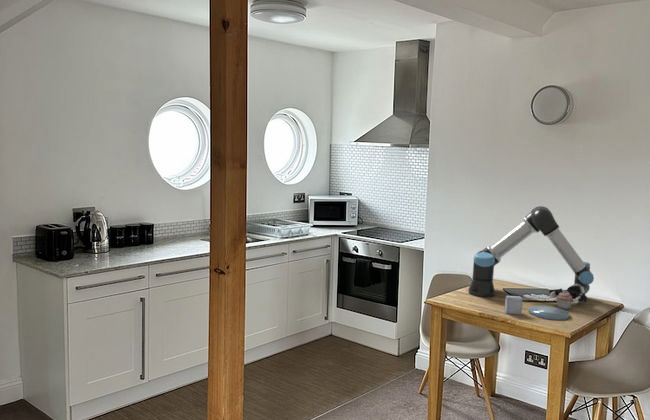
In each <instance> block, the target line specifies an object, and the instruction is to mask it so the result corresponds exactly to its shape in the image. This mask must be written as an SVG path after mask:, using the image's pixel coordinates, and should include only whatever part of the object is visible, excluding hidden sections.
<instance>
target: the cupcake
mask: <svg viewBox="0 0 650 420" xmlns="http://www.w3.org/2000/svg"><path fill="white" fill-rule="evenodd" d="M564 290H565V291H563V292H561V293H559V295H557V296H556V297H555V300H556V303H557V308H560V309H563V310H570V309H571V307H572V305H573V302H575V299H572V296H571V295H570V293H569V292H568V291H566V290H567V289H564Z"/></svg>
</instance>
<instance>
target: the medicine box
mask: <svg viewBox="0 0 650 420" xmlns="http://www.w3.org/2000/svg"><path fill="white" fill-rule="evenodd" d="M504 303H505V304H504V313H505V314H509V315H510V314H511V315H522V310H523V298H522V296H520V295H519V296H517V295H505V302H504Z"/></svg>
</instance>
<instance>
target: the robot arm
mask: <svg viewBox="0 0 650 420" xmlns="http://www.w3.org/2000/svg"><path fill="white" fill-rule="evenodd" d="M539 232H541V233H542V235H543V236H544V237H547V238H548V240H549V241H550V242H551V244H552V245H553V246H554V248H555V249H556V251H557V252H558V253H559V255H560V256H561V257H562V258H563V260H564V261H565V263H566V264H567V265H568V266H569V269H571V271H572V272H573V273H574V279H573V280H574V281H573V282H574V283H573V284H571V285H570V286H569V287H568V288H567V289H563V288H556V289H555V288H554V289H549V290H548V291H549V292H548V295H549V299H552V298H554V297H557V296H558V295H559V293H561V292H563V291H565V290H566V291H568V292H569V293H570V295H571V296H572V299H573V300H574V304H579V303H580V302H584V303H587V302H588V301H587V300H588V296H587V295H586V294H587V293H588V292H589V291H590V290H591V289H590V287H591V286H590V284H592V283H594V279H595V278H594V274H593V273H592V272H591V270H590V269H591V264H590V262H587V261H583V259H582V257H580V255H579V253H578V252H576V250H575V249H574V247H573V245H571V243H570V242H569V241H568V239H567V238H566V236H565V235H564V234H563V233H562V231H561V230H560V226H559V224H558V222H557V221H556V219H555V217H554V214H553V213H552V212H551V210H550V209H549V208H548V207H546V206H542V205H541V206H540V205H539V206H536V207H534V208H533V209H532V210H531V211H530V212H529V213H528V214H526V216H524V217H523V221H522V222H521V223H520V224H518V225H517V226H515V228H513V229H512V230H511V231H509V232H508V233H507V234H505V235H504V236H503V237H502V238H500V239H499V240H498V241H497V242H496V243H494V244H492V245H491V246H489V245H488V246H486V247H485V248H483V249H482V250H479V251H478V252H476V253H475V254H474V257H473V267H472V278H471V279H472V280H471V282H470V285H469V287H468V294H469V295H471V296H476V297H482V298H485V297H487V298H491V297H495V296H496V289H495V286H494V271H495V266H496V265H498V264H499V263H500V262H501V258H503V257H505V256H506V255H507V253H510V251H511V250H513V249H515V247H517V246H518V245H520V243H522V242H523V241H525V240H526V239H527V238H528V237H530V236H531V235H532V234H534V233H537V234H538V233H539Z"/></svg>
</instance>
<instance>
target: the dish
mask: <svg viewBox="0 0 650 420" xmlns="http://www.w3.org/2000/svg"><path fill="white" fill-rule="evenodd" d="M528 313H529V314H530V315H532V316H534V317H537V318H540V319H545V320H551V321H564V320H568V319H569V318H570V313H569V311H567V310H566V309H561V308H558V307H555V306H549V305H533V306H530V307H528Z"/></svg>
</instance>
